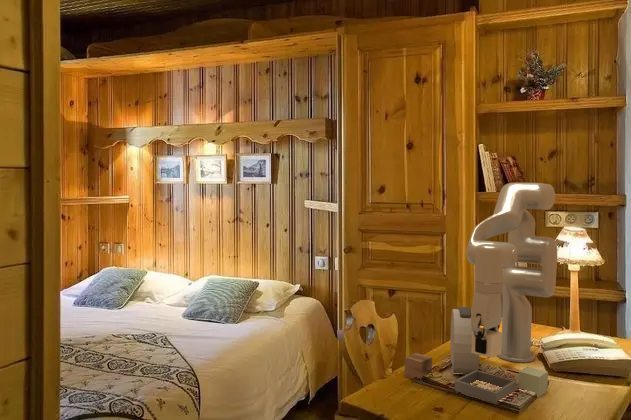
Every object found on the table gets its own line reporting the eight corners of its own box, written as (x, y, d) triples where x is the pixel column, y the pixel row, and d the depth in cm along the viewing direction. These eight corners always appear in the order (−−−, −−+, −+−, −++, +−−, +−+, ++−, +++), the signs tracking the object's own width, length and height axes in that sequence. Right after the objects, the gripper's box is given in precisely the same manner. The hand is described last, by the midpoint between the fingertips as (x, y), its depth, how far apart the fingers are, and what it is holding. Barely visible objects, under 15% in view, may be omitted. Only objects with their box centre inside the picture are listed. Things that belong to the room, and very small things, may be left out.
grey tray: (476, 381, 161) (476, 369, 161) (516, 393, 152) (516, 381, 152) (454, 392, 152) (454, 380, 152) (495, 405, 143) (496, 393, 143)
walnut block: (415, 371, 169) (415, 352, 169) (431, 376, 165) (432, 357, 165) (404, 376, 165) (404, 357, 165) (420, 381, 161) (421, 362, 160)
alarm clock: (478, 380, 161) (480, 316, 160) (453, 378, 163) (454, 315, 162) (472, 358, 182) (473, 301, 181) (450, 356, 184) (451, 300, 183)
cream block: (481, 348, 155) (482, 328, 155) (501, 353, 151) (501, 332, 151) (471, 352, 151) (472, 332, 151) (491, 358, 147) (491, 336, 147)
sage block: (526, 386, 158) (527, 366, 157) (547, 392, 153) (548, 371, 153) (518, 391, 154) (518, 371, 153) (538, 397, 149) (539, 376, 149)
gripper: (490, 282, 159) (488, 341, 160) (460, 289, 147) (458, 353, 148) (514, 286, 154) (512, 347, 155) (486, 293, 142) (483, 360, 142)
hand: (486, 349), depth 151 cm, fingers closed on cream block, 6 cm apart
